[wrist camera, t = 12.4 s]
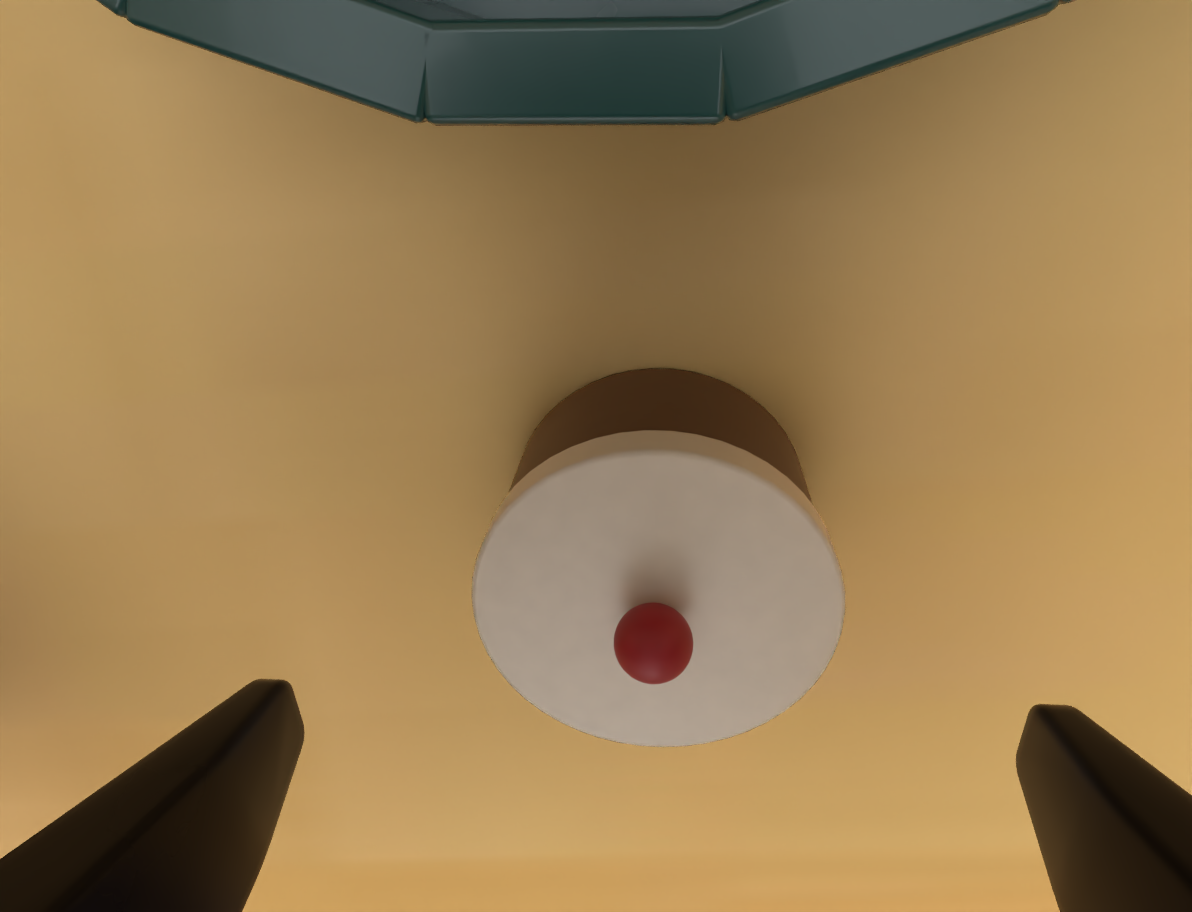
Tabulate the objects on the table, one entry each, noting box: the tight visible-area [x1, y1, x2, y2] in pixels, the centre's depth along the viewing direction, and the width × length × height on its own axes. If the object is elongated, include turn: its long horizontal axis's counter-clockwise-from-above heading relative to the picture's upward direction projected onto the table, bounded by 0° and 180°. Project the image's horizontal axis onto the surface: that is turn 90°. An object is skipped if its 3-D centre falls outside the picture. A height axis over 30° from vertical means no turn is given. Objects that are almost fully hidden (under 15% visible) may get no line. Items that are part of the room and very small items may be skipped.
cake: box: [472, 369, 845, 747], centre depth 12 cm, size 5×5×4 cm
